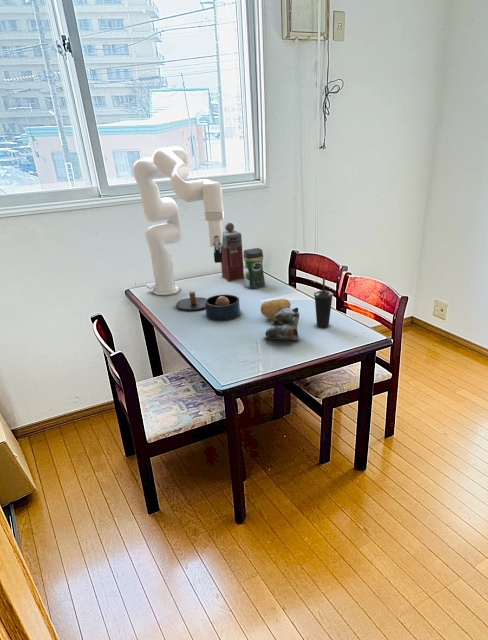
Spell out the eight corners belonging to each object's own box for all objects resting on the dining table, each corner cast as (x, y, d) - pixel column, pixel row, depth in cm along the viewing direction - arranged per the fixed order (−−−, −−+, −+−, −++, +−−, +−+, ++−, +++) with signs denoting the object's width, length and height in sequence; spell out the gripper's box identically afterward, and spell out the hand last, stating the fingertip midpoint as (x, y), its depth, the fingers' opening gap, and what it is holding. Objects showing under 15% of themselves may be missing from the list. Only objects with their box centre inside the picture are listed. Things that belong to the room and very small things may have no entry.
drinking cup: (334, 323, 206) (335, 276, 196) (329, 330, 200) (330, 282, 190) (316, 321, 208) (317, 274, 198) (311, 328, 202) (311, 280, 192)
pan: (206, 322, 210) (204, 307, 207) (206, 309, 223) (205, 295, 219) (240, 319, 212) (239, 305, 208) (239, 307, 224) (238, 293, 221)
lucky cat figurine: (257, 338, 194) (263, 303, 193) (282, 343, 201) (288, 309, 200) (279, 340, 182) (285, 302, 181) (304, 345, 189) (310, 308, 188)
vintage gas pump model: (230, 282, 255) (226, 226, 241) (222, 276, 264) (217, 222, 249) (246, 279, 259) (242, 224, 244) (237, 274, 267) (233, 220, 253)
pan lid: (175, 312, 220) (173, 299, 217) (177, 300, 234) (175, 288, 230) (210, 310, 222) (209, 297, 219) (210, 298, 235) (209, 286, 232)
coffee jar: (260, 282, 254) (258, 245, 245) (267, 286, 248) (265, 249, 239) (243, 285, 251) (240, 248, 241) (249, 289, 244) (247, 252, 235)
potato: (296, 317, 212) (296, 299, 208) (268, 325, 206) (267, 307, 202) (283, 311, 219) (283, 293, 215) (256, 318, 213) (255, 300, 209)
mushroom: (216, 316, 214) (215, 299, 210) (216, 311, 219) (214, 294, 215) (230, 315, 215) (229, 298, 211) (230, 310, 220) (228, 293, 216)
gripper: (205, 212, 203) (209, 254, 212) (204, 220, 188) (209, 265, 197) (223, 211, 203) (227, 253, 212) (224, 219, 189) (228, 264, 198)
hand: (218, 259), depth 205 cm, fingers open, 9 cm apart
